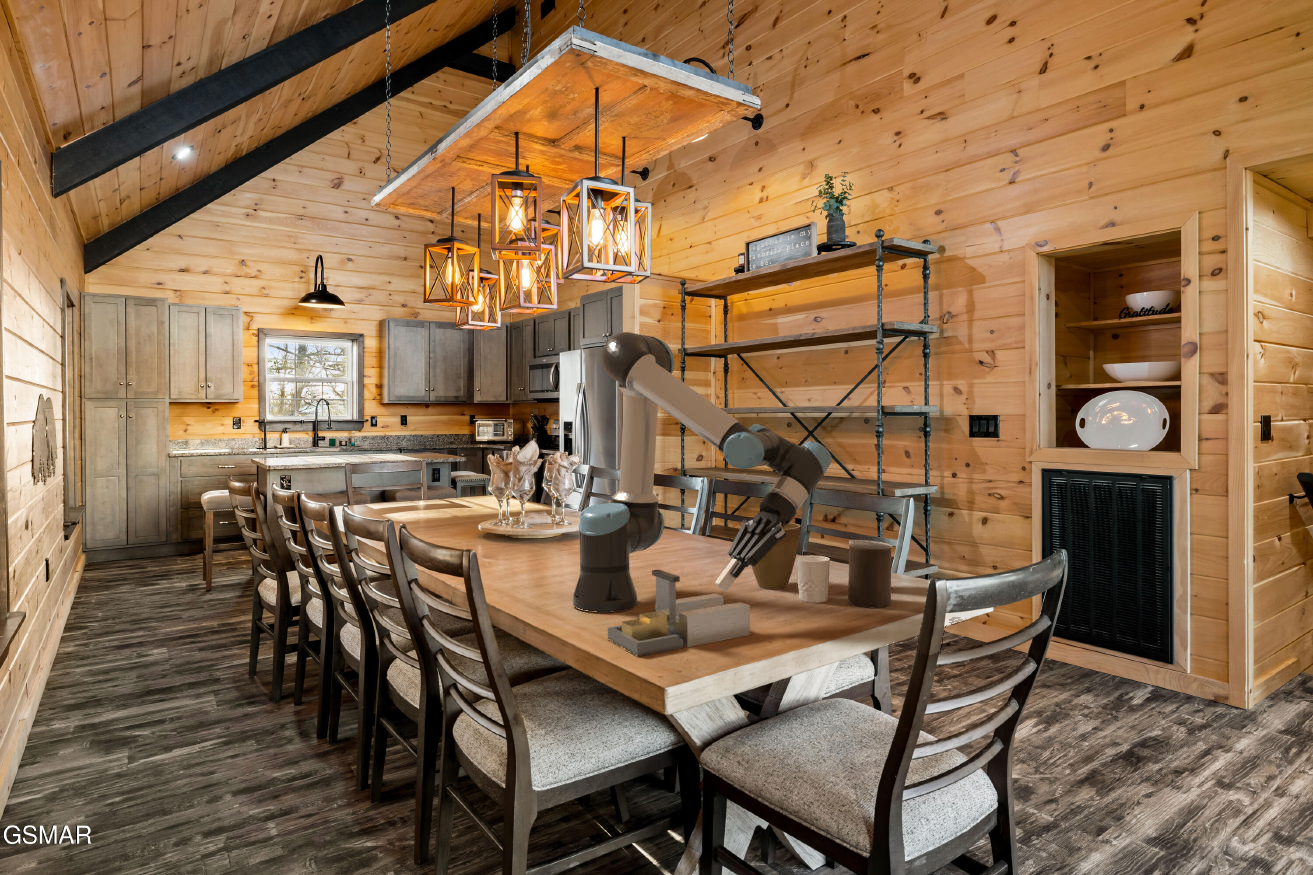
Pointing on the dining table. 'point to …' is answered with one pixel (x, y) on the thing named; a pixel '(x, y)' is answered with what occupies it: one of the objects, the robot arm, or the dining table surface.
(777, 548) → the plant pot
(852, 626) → the dining table surface
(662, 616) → the brass chip
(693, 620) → the slotted rail
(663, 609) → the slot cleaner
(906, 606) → the dining table surface
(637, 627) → the brass chip
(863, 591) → the pillar candle
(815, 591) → the white cup
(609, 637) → the tray
